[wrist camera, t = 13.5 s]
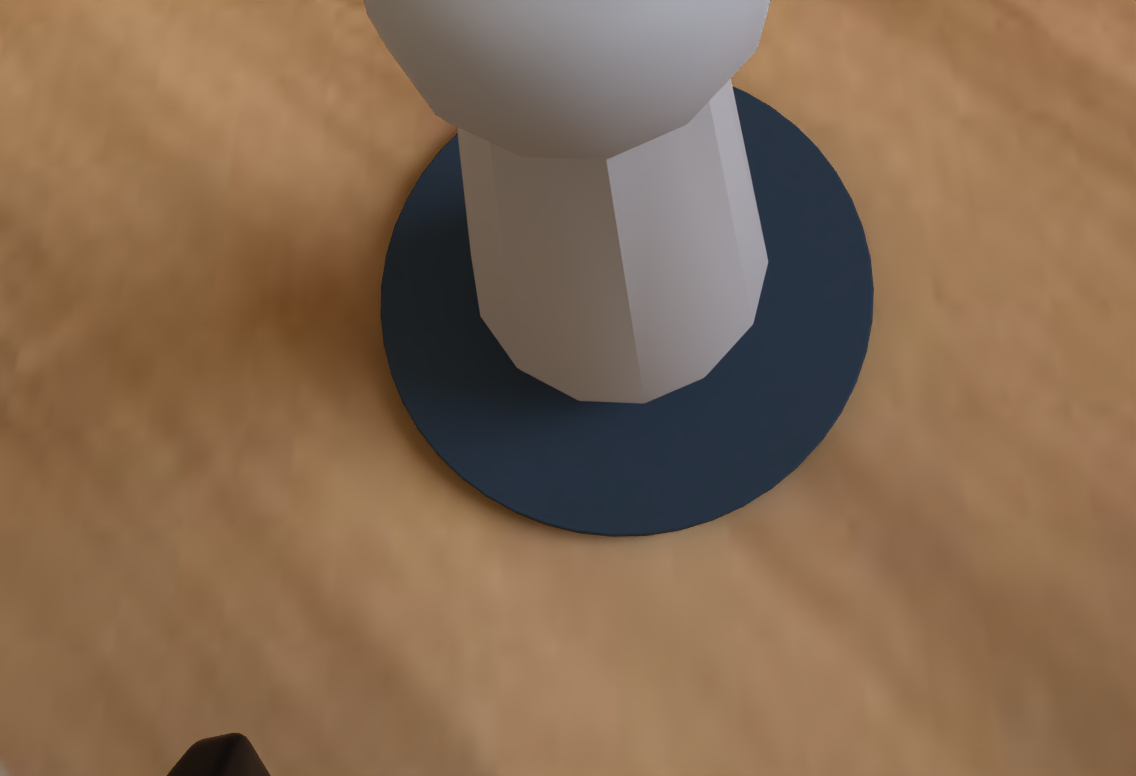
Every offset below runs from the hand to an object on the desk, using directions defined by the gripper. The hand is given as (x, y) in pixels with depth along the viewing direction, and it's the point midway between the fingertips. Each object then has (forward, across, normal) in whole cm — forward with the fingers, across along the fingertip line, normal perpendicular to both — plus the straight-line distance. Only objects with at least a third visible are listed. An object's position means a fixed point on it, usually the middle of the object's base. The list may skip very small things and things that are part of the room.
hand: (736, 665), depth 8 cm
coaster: (+14, 0, +3) cm, 14 cm away
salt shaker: (+13, 0, +3) cm, 13 cm away
